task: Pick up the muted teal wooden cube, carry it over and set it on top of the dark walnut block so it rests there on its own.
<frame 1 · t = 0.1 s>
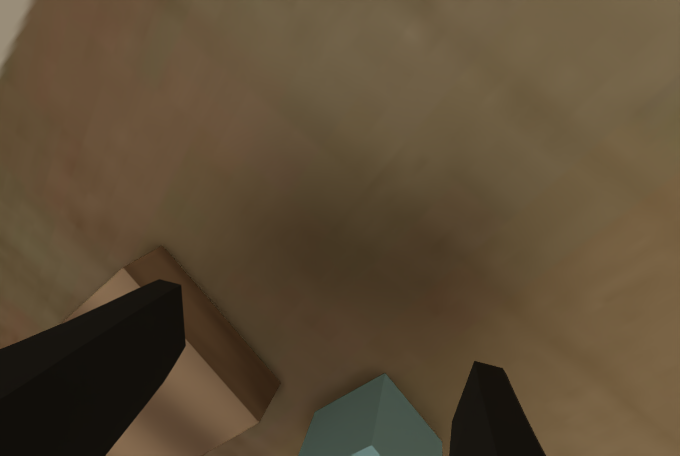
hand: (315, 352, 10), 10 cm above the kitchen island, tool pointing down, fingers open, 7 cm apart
teal cube: (377, 425, 24), on the kitchen island
walnut block: (170, 353, 26), on the kitchen island
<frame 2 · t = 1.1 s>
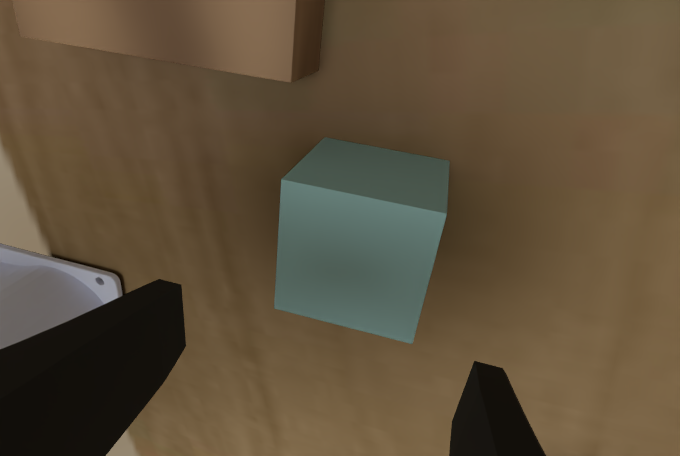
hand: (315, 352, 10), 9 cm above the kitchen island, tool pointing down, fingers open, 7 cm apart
teal cube: (376, 205, 18), on the kitchen island
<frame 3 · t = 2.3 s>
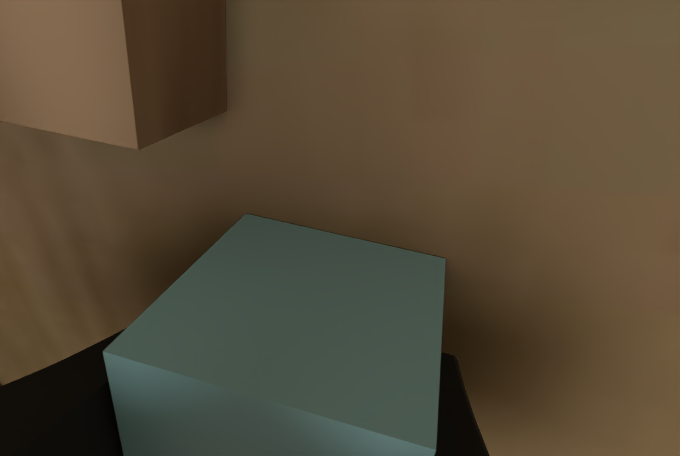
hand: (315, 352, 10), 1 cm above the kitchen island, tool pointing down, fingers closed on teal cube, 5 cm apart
teal cube: (330, 315, 12), on the kitchen island, touching gripper
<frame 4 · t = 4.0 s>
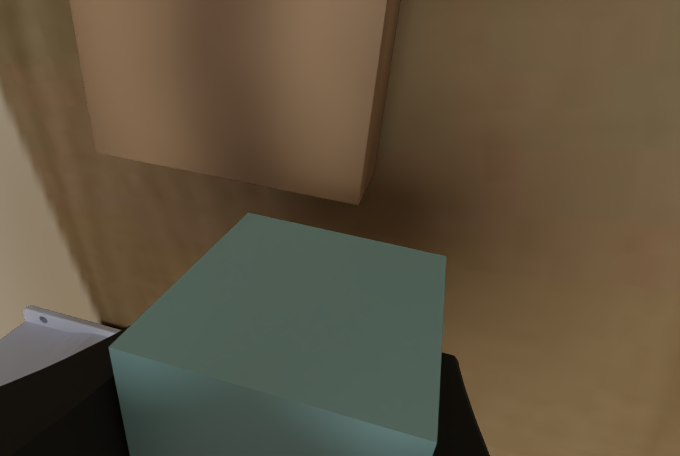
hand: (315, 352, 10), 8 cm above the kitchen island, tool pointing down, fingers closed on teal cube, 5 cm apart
teal cube: (332, 313, 12), point 7 cm above the kitchen island, touching gripper
walnut block: (262, 18, 16), on the kitchen island
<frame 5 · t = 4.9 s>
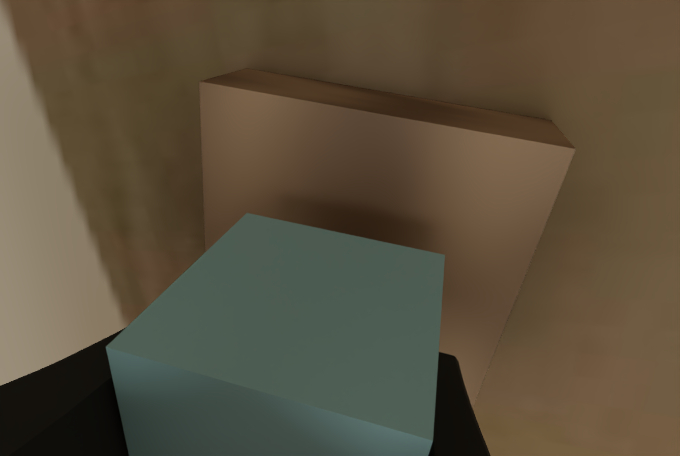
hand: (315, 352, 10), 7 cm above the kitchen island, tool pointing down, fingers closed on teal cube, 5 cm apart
teal cube: (332, 312, 12), point 5 cm above the kitchen island, touching gripper
walnut block: (369, 223, 17), on the kitchen island
when the fingers open (6 cm above the kitchen island, at t = 5.6 s): teal cube drops 1 cm, point 3 cm above the kitchen island.
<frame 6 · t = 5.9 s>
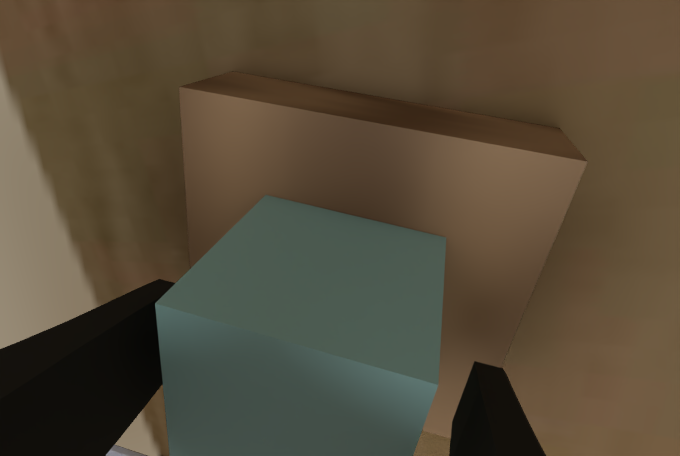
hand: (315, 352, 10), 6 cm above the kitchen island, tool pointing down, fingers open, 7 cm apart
teal cube: (340, 289, 13), point 3 cm above the kitchen island
walnut block: (364, 234, 16), on the kitchen island
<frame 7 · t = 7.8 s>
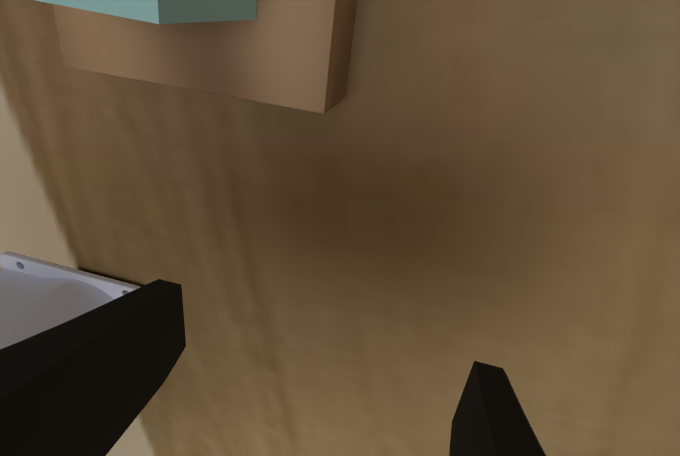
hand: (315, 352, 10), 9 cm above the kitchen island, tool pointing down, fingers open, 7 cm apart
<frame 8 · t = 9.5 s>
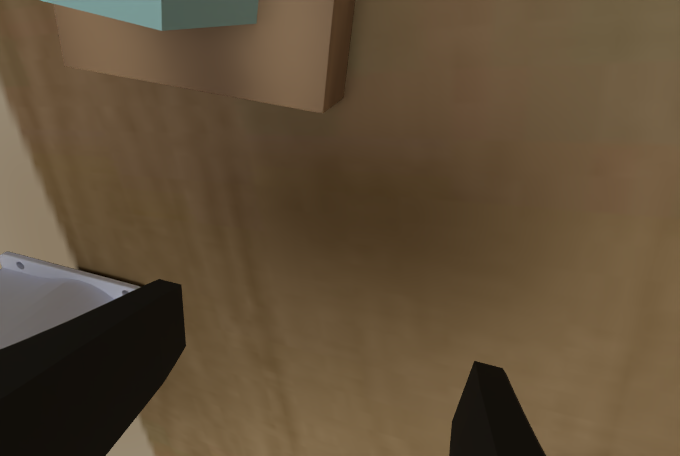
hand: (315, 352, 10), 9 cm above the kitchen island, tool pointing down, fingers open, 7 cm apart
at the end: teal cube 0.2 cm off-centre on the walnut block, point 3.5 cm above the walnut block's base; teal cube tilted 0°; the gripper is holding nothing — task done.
